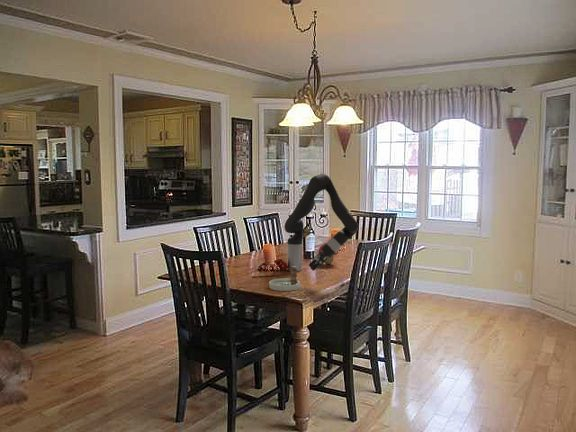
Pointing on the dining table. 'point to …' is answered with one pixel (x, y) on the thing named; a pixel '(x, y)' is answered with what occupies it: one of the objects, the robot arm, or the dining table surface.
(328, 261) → the decorative mushroom
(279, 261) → the decorative berry sprig
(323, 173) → the robot arm
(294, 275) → the bead stack
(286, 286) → the tray
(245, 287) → the dining table surface
